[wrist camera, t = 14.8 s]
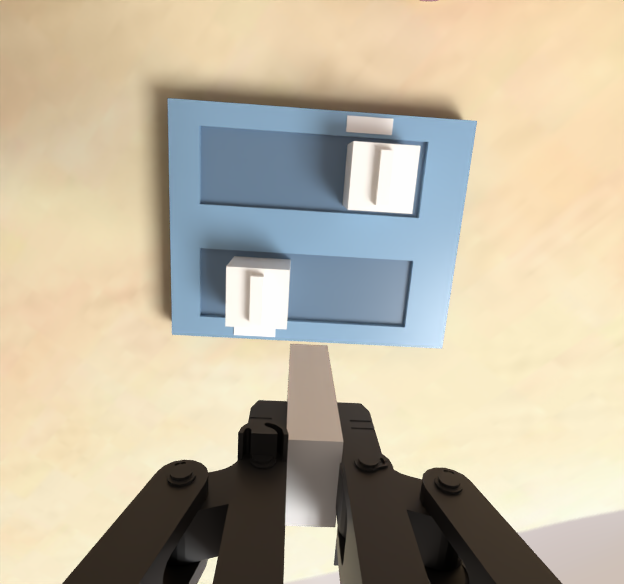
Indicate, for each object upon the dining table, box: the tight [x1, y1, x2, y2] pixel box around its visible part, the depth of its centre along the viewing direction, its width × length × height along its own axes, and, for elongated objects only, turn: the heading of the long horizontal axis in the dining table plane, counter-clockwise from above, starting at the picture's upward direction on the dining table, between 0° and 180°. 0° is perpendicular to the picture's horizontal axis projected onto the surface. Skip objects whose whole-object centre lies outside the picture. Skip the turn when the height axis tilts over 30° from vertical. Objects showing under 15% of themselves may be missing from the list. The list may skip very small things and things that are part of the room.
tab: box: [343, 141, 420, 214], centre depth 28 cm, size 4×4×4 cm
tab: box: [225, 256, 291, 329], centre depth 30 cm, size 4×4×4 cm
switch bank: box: [168, 98, 477, 348], centre depth 31 cm, size 20×16×2 cm
